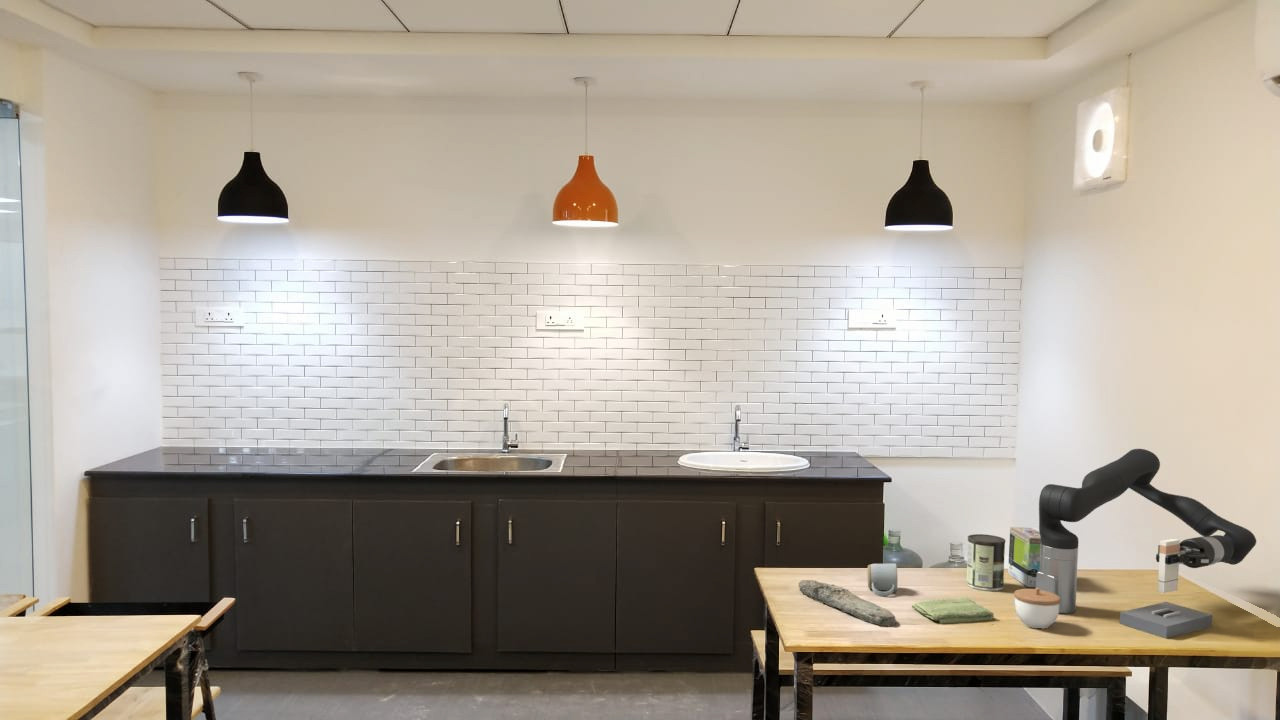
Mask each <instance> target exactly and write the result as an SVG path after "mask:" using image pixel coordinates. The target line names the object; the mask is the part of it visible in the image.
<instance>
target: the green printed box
mask: <svg viewBox="0 0 1280 720" xmlns="http://www.w3.org/2000/svg"><path fill="white" fill-rule="evenodd" d="M1040 548H1041V537H1040V533H1039V527H1022V526H1021V527H1019V526H1017V527H1016V526H1012V527H1011V526H1010V529H1009V545H1008V564H1007V566H1008V567H1007V568H1008V569H1007V574H1009V575H1010V576H1011V577H1013V578H1014V579H1016V580H1017V581H1019V582H1020V583H1022V584H1023V585H1024V586H1026V587H1027V588H1036V577H1037V572H1039V571H1040Z"/></svg>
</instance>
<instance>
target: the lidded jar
mask: <svg viewBox="0 0 1280 720" xmlns="http://www.w3.org/2000/svg"><path fill="white" fill-rule="evenodd" d="M1013 595H1014V608H1015V610H1014V611H1015V613H1016V615H1017V617H1018V619H1020V621H1021V622H1022V624H1023V623H1024V624H1025V625H1024V624H1023V625H1024V626H1026V625H1027V626H1026V627H1028V626H1030V627H1029V628H1031V627H1033V628H1032V629H1037V628H1042V629H1041V630H1043V629H1044V630H1045V628H1046V629H1048V627H1049V628H1050V626H1052V625H1053V624H1054V623H1055V622H1056V621H1057V618H1058V616H1059V614H1060V613H1059V604H1060V597H1059V596H1058V595H1056V594H1054V593H1051V592H1048V591H1044V590H1040V589H1039V588H1036V587H1034V588H1021V589H1017V590H1015V591H1014V593H1013Z"/></svg>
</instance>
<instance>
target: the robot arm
mask: <svg viewBox="0 0 1280 720" xmlns="http://www.w3.org/2000/svg"><path fill="white" fill-rule="evenodd" d="M1160 467H1161V461H1160V459H1159V458H1158V456H1157V454H1155V453H1154V452H1152V451H1150V450H1148V449H1145V448H1134V449H1131V450H1129V451H1128V452H1127V453H1126V454H1124V455H1122V456H1121V457H1120V458H1118V459H1116V460H1114V461H1112V462H1110V463H1107V464H1105V465H1104V466H1103V465H1102V466H1101V467H1098V468H1096V469H1094V470H1091V471H1089V473H1087V474H1086V475H1085V476H1084V477H1083V479H1082V481H1081V487H1072V486H1067V485H1066V486H1065V485H1061V484H1052V483H1049V484H1046V485H1044V486H1043V488H1042V489H1041V491H1040V494H1039V497H1038V500H1039V501H1038V518H1039V519H1038V524H1039V525H1038V526H1039V527H1038V528H1039V533H1040V537H1041V548H1040V571H1039V572H1037V577H1036V587H1035V588H1039V589H1040V590H1044V591H1048V592H1051V593H1054V594H1056V595H1058V596H1059V597H1060V604H1059V613H1058V614H1072V613H1075V612H1076V609H1077V608H1076V606H1077V604H1076V603H1077V584H1078V581H1077V579H1078V559H1079V558H1078V557H1079V537H1078V536H1077V535H1076V534H1075V533H1073V532H1072V531H1070V530H1068V528H1066V527H1065V526H1064V524H1063V523H1062V521H1063V522H1066V523H1078V522H1080V521H1082V520H1083V519H1085V518H1086V517H1087V516H1088V515H1091V513H1092V512H1094V511H1095V510H1096V509H1097V508H1099V507H1101V506H1103V505H1105V504H1107V503H1109V502H1112V501H1113V500H1115V499H1117V498H1118V497H1120V496H1122V495H1123V494H1124V493H1125V492H1126V491H1127V490H1128V489H1130V490H1132V491H1133V492H1135V493H1137V494H1139V495H1140V496H1142V497H1143V498H1145V499H1146V500H1148V501H1150V502H1152V503H1153V504H1156V505H1157V506H1159V507H1161V508H1162V509H1164V510H1166V511H1168V512H1169V513H1170V514H1172V515H1173V516H1175V517H1177V518H1178V519H1180V520H1181V521H1182V522H1184V524H1186V525H1187V526H1188V527H1190V528H1191V529H1192V530H1194V531H1195V532H1196V533H1198V534H1199V536H1198V537H1191V538H1187V539H1184V540H1181V541H1180V552H1179V553H1176V554H1172V555H1167V556H1166V557H1165V564H1168V565H1170V564H1175V563H1176V564H1179V565H1184V566H1186V567H1187V568H1190V569H1197V568H1198V569H1199V568H1203V567H1208V566H1212V565H1215V564H1217V563H1224V564H1229V565H1234V566H1235V565H1237V564H1240V563H1241V562H1242V561H1244V560H1245V558H1246V557H1247V555H1248V554H1249V553H1250V552H1251V551H1252V550H1253V549H1254V547H1255V546H1256V544H1257V538H1256V536H1255V535H1254V533H1253V532H1252V531H1251V530H1249V529H1247V528H1246V527H1243V526H1241V525H1239V524H1236V523H1234V522H1232V521H1229V520H1228V519H1226V518H1223V517H1221V516H1219V515H1218V514H1217V513H1215V512H1213V511H1212V510H1211V509H1210V508H1209V507H1207V506H1206V505H1204V504H1203V503H1201V502H1200V501H1199V500H1197V499H1194V498H1192V497H1189V496H1183V495H1178V494H1173V493H1168V492H1164V491H1161V490H1159V489H1157V488H1156V487H1154V485H1152V484H1151V482H1152V480H1153V479H1154V478H1155V477H1156V475H1157V473H1159V470H1160ZM1218 531H1221V532H1223V533H1224V534H1223V535H1221V534H1220V535H1219V534H1216V535H1214V534H1215V533H1216V532H1218ZM1157 547H1158V549H1157V554H1155V555H1156V556H1155V560H1156V562H1157V563H1159V556H1160V555H1159V549H1160V544H1158V546H1157Z"/></svg>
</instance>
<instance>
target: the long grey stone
mask: <svg viewBox="0 0 1280 720" xmlns="http://www.w3.org/2000/svg"><path fill="white" fill-rule="evenodd" d="M798 588H799V592H802V593H803V594H804V595H805V596H807V597H808V598H811V599H813V600H814V602H818V603H820V604H824V603H825V606H828V605H829V606H830V607H831V608H833V607H834V608H838V609H839V610H841V611H842V613H846V614H847V613H848V614H850V615H852V616H854V617H856V618H858V619H860V620H862V621H863V622H868V623H871V624H875V625H878V626H883V627H891V626H894V625H895V624H896V616H895V615H894V614H893V612H891V611H890V610H889V609H887V608H884V607H881V606H879V605H877V604H875V603H873V602H870V601H868V600H866V599H863V598H861V597H859V596H857V595H856V594H854V593H852V591H850V590H849V589H846V588H844V587H842V586H837V585H835V584H833V583H832V584H829V583H825V582H821V581H817V580H814V579H801V580H800V581H799V582H798Z"/></svg>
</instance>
